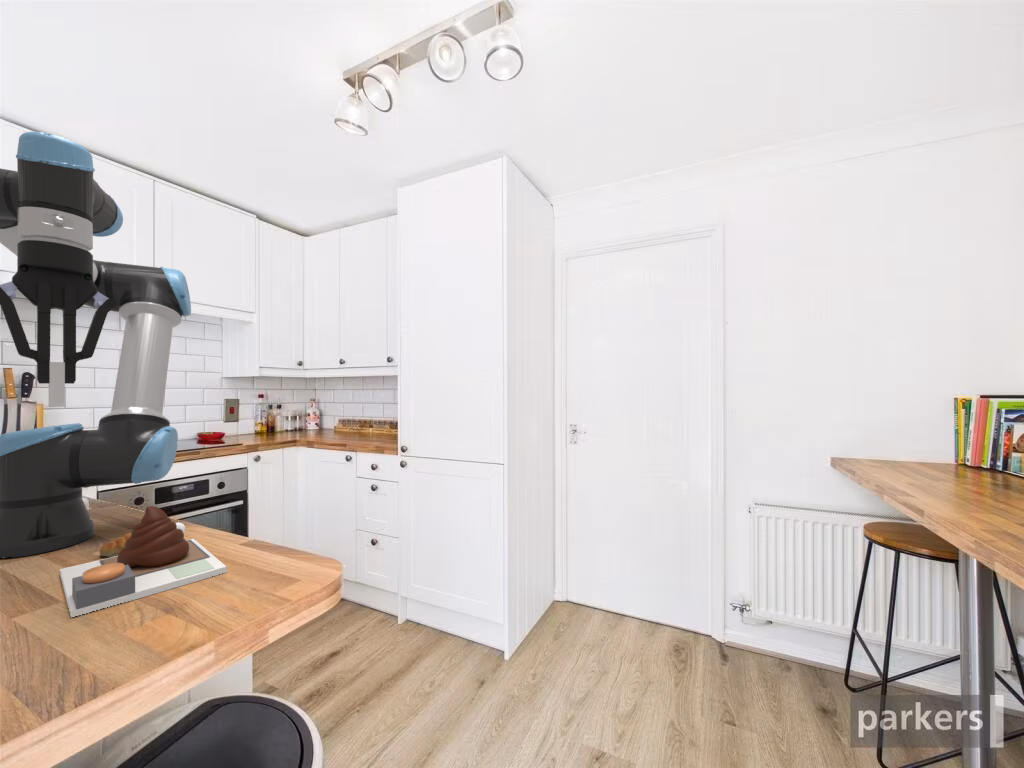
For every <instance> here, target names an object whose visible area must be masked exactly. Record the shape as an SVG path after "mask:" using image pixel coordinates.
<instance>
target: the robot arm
mask: <svg viewBox="0 0 1024 768" xmlns="http://www.w3.org/2000/svg"><path fill="white" fill-rule="evenodd" d="M15 158H16V162H17V167H16V168H17V171H16V170H11V169H5V168H0V244H1V245H2V246H3V247H4V248H6V249H7V250H9V251H10V252H11V253H13V254H14V255H16V257H17V259H16V261H17V262H16V263H17V264H16V265H17V271H16V272H15V273H14V274H13V275H12V277H11V281H9V282H5V283H2V284H0V308H1V310H2V313H3V316H4V318H5V322H6V324H7V327H8V329H9V333H10V335H11V338H12V341H13V343H14V347H15V348H16V349H15V350H16V351H17V354H18V355H19V356H21V357H24V358H28V359H31V360H33V361H35V362H36V381H37V382H38V384H45V385H46V384H48V407H49V408H55V407H56V408H58V407H59V408H60V407H65V406H66V390H65V389H66V384H67V385H69V384H75V383H76V380H77V378H76V377H77V374H76V373H77V368H76V367H77V362H79V361H83V360H86V359H91V358H92V357H93V356H94V353H95V351H96V347H97V344H98V341H99V339H100V336H101V333H102V330H103V327H104V324H105V322H106V318H107V316H108V314H109V312H118V314H119V315H120V317H121V318H122V319H123V320H124V321H125V326H124V332H123V336H122V337H123V338H122V344H121V351H120V356H119V360H118V362H119V363H118V367H117V374H116V380H115V384H114V385H115V387H114V390H113V391H114V392H113V397H112V402H111V403H112V404H111V411H110V412H109V413H106V415H104V416H102V417H101V418H100V419H99V421H98V426H97V429H85V430H84V426H83V424H81V423H80V422H78V423H77V422H76V423H69V424H68V423H66V424H60V425H51V426H44V427H37V428H31V429H22V430H15V431H10V432H5V433H3V434H0V558H1V559H4V558H3V557H12V558H18V557H27V556H33V555H38V554H42V553H47V552H51V551H55V550H60V549H64V548H66V547H70V546H73V545H76V544H79V543H82V542H85V541H87V540H88V539H91V538H92V537H93V536H94V535H95V523H94V521H93V520H92V519H91V517H90V514H89V511H88V509H87V507H86V504H85V502H84V500H83V488H89V487H90V488H91V487H99V486H100V487H102V486H112V485H124V484H127V485H128V484H136V485H137V484H138V485H139V484H142V483H146V482H147V483H148V482H155V481H158V480H159V481H160V480H161V479H164V478H165V477H166V476H167V475H168V474H169V472H170V471H171V469H172V467H173V464H174V461H175V458H176V455H177V450H178V439H179V436H178V435H179V434H178V431H177V429H176V428H175V427H173V426H171V421H170V420H169V419H168V418H167V417H166V416H165V415H163V413H164V412H163V410H164V405H165V404H164V403H165V402H164V401H165V393H166V385H167V378H168V376H167V375H168V370H169V369H168V368H169V361H170V355H171V354H170V353H171V345H172V338H173V337H172V336H173V330H174V329H173V328H175V327H178V326H179V325H180V324H181V322H182V318H183V317H189V316H190V315H191V313H192V305H191V304H192V303H191V296H190V291H189V286H188V281H187V278H186V276H185V275H184V273H183V272H182V271H181V270H178V269H176V268H175V269H174V268H167V267H164V266H160V267H157V266H156V267H155V266H149V265H148V266H147V265H139V264H131V263H130V264H128V263H121V262H112V261H103V260H102V261H101V260H94V255H93V254H92V253H91V252H90V251H92V250H93V249H94V247H93V246H94V243H93V242H94V239H93V238H94V237H109V236H112V235H114V234H116V233H117V232H118V231H119V230H121V228H122V226H123V223H124V217H123V213H122V210H121V208H120V207H119V206H118V204H117V203H116V201H115V199H114V198H113V197H112V196H111V195H110V194H108V193H107V192H106V191H105V190H103V188H102V187H101V186H100V185H99V183H98V182H97V181H96V180H95V179H94V172H96V170H95V168H94V162H93V155H92V154H91V152H90V151H89V150H88V149H87V148H86V147H84V146H83V145H81V144H79V143H77V142H75V141H73V140H71V139H68V138H66V137H64V136H63V137H62V136H60V135H57V134H53V133H46V132H42V131H27V132H22V133H21V135H19V137H18V144H17V152H16V155H15ZM17 290H18V291H19V292H20V293H21V295H23V296H24V297H25V299H27V300H28V301H29V302H30V303H31V304H32V305H33V306H35V307H36V350H35V349H32V348H31V347H30V343H29V340H28V339H27V335H26V333H25V330H24V328H23V325H22V322H21V320H20V316H19V314H18V310H17V309H16V306H15V303H14V301H13V300H15V299H16V296H17V293H16V292H15V291H17ZM83 306H87V307H91V308H92V309H93V308H94V309H96V310H95V312H94V314H93V316H92V320H91V321H90V325H89V327H88V331H87V332H86V333H87V334H86V337H85V339H84V341H83V345H82V347H81V350H80V351H77V310H79V309H81V308H82V307H83ZM55 309H56V310H60V311H62V360H63V361H51V312H52V311H51V310H55Z"/></svg>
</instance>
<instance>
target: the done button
mask: <svg viewBox="0 0 1024 768" xmlns="http://www.w3.org/2000/svg"><path fill="white" fill-rule="evenodd" d="M124 572H125V565H124V564H123V563H111V564H105V565H101V566H97V567H94V568H91V569H89V570H87V571H85V572H84V573H83V574H82V582H83V583H98V582H103V581H107V580H111V579H114V578H116V577H119V576H120V575H122V574H123V573H124Z"/></svg>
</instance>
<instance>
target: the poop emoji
mask: <svg viewBox="0 0 1024 768" xmlns="http://www.w3.org/2000/svg"><path fill="white" fill-rule="evenodd" d="M131 532H132V533H131ZM131 532H130V533H131V537H130V538H128V540H127V541H126V543H125V548H123V549H122V550H121V551H120V553H119V554H118V557H117V562H118V563H123V564H124V565H129V567H134V566H137V565H139V566H145V567H156V566H163V565H167V564H170V563H173V562H175V561H178V560H180V559H182V558H183V557H185V556H186V555H187V553H188V552H189V544H188V542H187V541H186V540H187V539H185V538H184V537H185V532H186V526H185V524H184V523H182V522H175V521H172V519H171V518H170V517H168V514H167V513H166V512H165V511H164V510H162V509H161V508H159V507H157V506H153V505H149V506H147V507H146V509H145V514H144V515H143V516H142V519H141V522H139V523H137V525H135V526H134V527H133V529H132V531H131Z"/></svg>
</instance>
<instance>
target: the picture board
mask: <svg viewBox="0 0 1024 768" xmlns="http://www.w3.org/2000/svg"><path fill="white" fill-rule="evenodd" d="M185 540H186V541H187V542H188V544H189V552H188V553H187V555H186V556H185V557H183V558H182V559H180V560H178V561H175V562H173V563H170V564H167V565H163V566H156V567H145V566H139V565H137V566H134V567H129V565H125V572H124V573H123V574H122V575H120V576H119V577H116V578H114V579H111V580H107V581H103V582H98V583H83V582H82V574H83V573H84V572H85V571H87V570H89V569H91V568H94V567H97V566H101V565H105V564H111V563H118V562H117V557H118V556H115V557H107V558H103V559H99V560H98V559H97V560H94V561H89V562H86V563H81V564H77V565H72V566H68V567H64V568H60V569H59V576H60V577H59V578H60V580H61V584H62V588H63V593H64V596H65V599H66V600H65V601H66V604H67V609H68V608H69V609H68V612H70V613H69V616H71V617H75V616H78V615H81V616H83V615H82V614H85V615H87V614H86V613H88V614H90V613H89V612H92V611H95V612H97V611H96V610H98V611H101V610H100V609H102V608H105V609H108V608H111V607H110V606H112V607H114V606H113V605H115V606H118V605H117V604H119V605H121V604H120V603H122V604H125V603H129V602H133V601H135V600H138V599H141V598H145V597H146V598H147V597H149V596H151V595H155V594H158V593H162V592H166V591H168V590H172V589H175V588H179V587H182V586H186V585H189V584H193V583H195V582H198V581H202V580H205V579H210V578H212V576H213V577H216V576H219V574H220V575H223V574H226V573H227V565H225V564H224V563H223V562H222V561H220V560H219V559H218V558H217V557H216V556H214V554H213V553H212V552H210V551H209V550H207V548H205V547H204V546H203V545H202V544H200V543H199V542H198V540H196V539H195V538H190V539H185ZM222 573H223V574H222ZM128 601H129V602H128ZM124 602H125V603H124ZM107 607H108V608H107ZM102 610H103V609H102ZM92 613H93V612H92ZM71 617H70V618H71ZM78 617H79V616H78ZM75 618H76V617H75Z"/></svg>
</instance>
